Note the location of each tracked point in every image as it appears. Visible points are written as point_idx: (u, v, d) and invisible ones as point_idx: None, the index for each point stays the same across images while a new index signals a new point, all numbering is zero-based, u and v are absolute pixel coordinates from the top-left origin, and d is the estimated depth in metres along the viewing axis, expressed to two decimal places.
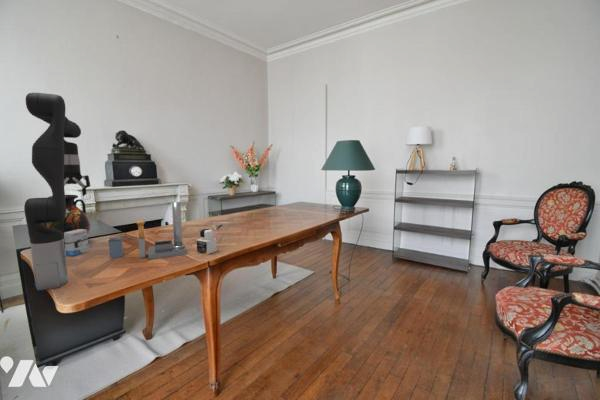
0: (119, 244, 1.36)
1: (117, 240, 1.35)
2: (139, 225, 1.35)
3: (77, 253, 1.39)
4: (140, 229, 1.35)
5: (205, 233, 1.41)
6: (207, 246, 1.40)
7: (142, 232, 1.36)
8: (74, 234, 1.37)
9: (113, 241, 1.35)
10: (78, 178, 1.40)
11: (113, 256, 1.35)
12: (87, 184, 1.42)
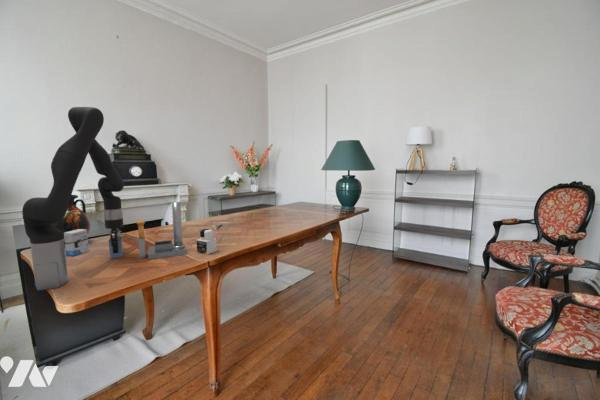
0: (119, 244, 1.36)
1: None
2: (139, 225, 1.35)
3: (77, 253, 1.39)
4: (140, 229, 1.35)
5: (205, 233, 1.41)
6: (207, 246, 1.40)
7: (142, 232, 1.36)
8: (74, 234, 1.37)
9: (113, 241, 1.35)
10: None
11: (113, 256, 1.35)
12: None
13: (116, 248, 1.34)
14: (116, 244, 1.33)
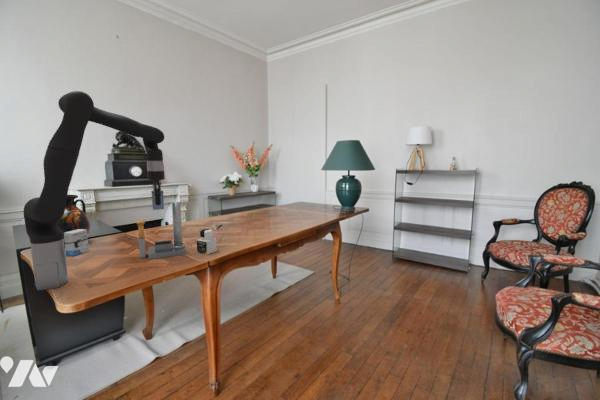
0: (161, 196, 1.37)
1: None
2: (139, 225, 1.35)
3: (77, 253, 1.39)
4: (140, 229, 1.35)
5: (205, 233, 1.41)
6: (207, 246, 1.40)
7: (142, 232, 1.36)
8: (74, 234, 1.37)
9: (156, 193, 1.36)
10: None
11: (155, 208, 1.37)
12: None
13: (159, 200, 1.36)
14: (159, 195, 1.34)
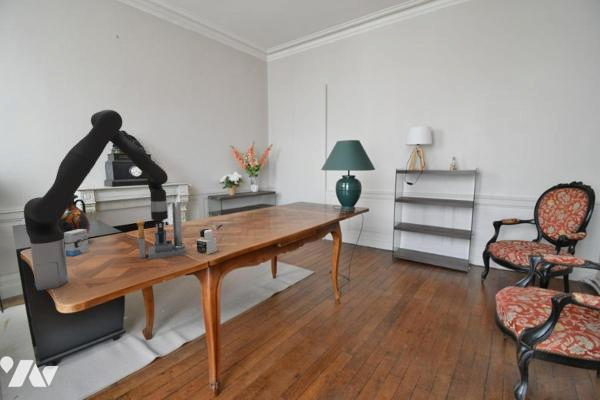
0: (164, 237, 1.40)
1: None
2: (139, 225, 1.35)
3: (77, 253, 1.39)
4: (140, 229, 1.35)
5: (205, 233, 1.41)
6: (207, 246, 1.40)
7: (142, 232, 1.36)
8: (74, 234, 1.37)
9: None
10: None
11: None
12: None
13: (162, 238, 1.37)
14: (162, 234, 1.35)
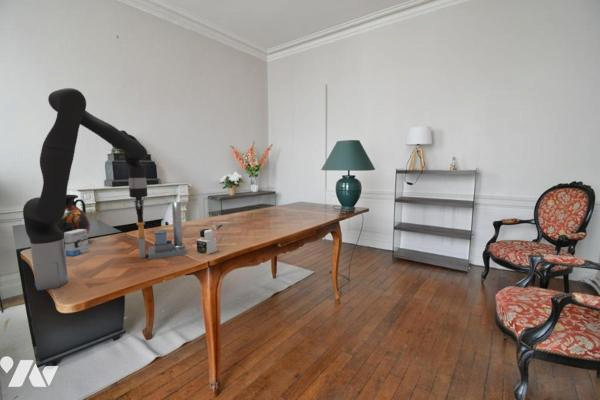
0: (164, 237, 1.40)
1: (163, 233, 1.39)
2: (139, 226, 1.35)
3: (77, 253, 1.39)
4: (140, 230, 1.35)
5: (205, 233, 1.41)
6: (207, 246, 1.40)
7: (142, 233, 1.36)
8: (74, 234, 1.37)
9: (159, 234, 1.38)
10: None
11: None
12: None
13: (141, 217, 1.35)
14: (141, 213, 1.33)
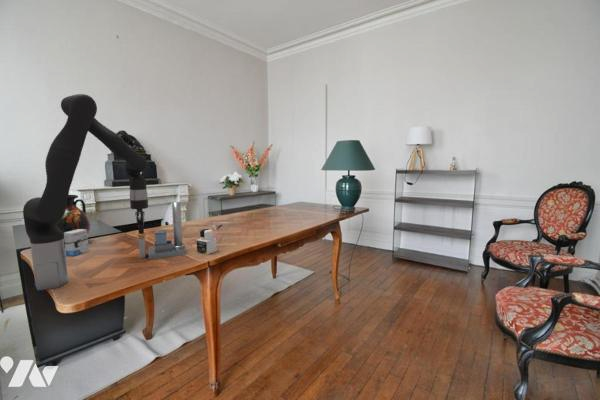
0: (164, 237, 1.40)
1: (163, 233, 1.39)
2: (140, 237, 1.36)
3: (77, 253, 1.39)
4: None
5: (205, 233, 1.41)
6: (207, 246, 1.40)
7: None
8: (74, 234, 1.37)
9: (159, 234, 1.38)
10: None
11: None
12: None
13: (142, 229, 1.35)
14: (142, 224, 1.34)
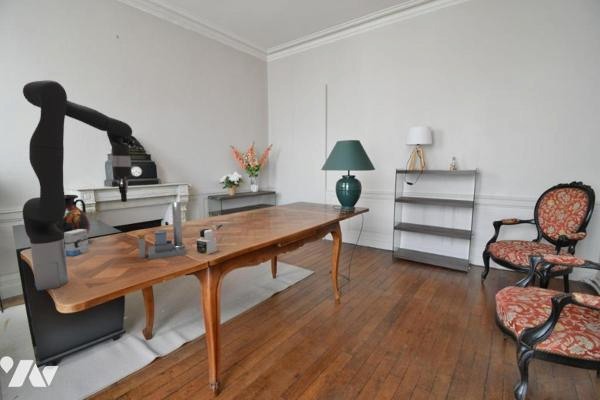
0: (164, 237, 1.40)
1: (163, 233, 1.39)
2: (140, 237, 1.36)
3: (77, 253, 1.39)
4: None
5: (205, 233, 1.41)
6: (207, 246, 1.40)
7: None
8: (74, 234, 1.37)
9: (159, 234, 1.38)
10: None
11: None
12: (126, 189, 1.37)
13: (124, 196, 1.33)
14: (124, 192, 1.31)
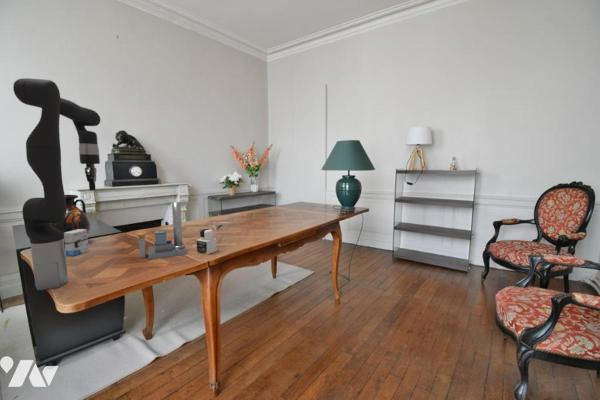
0: (164, 237, 1.40)
1: (163, 233, 1.39)
2: (140, 237, 1.36)
3: (77, 253, 1.39)
4: None
5: (205, 233, 1.41)
6: (207, 246, 1.40)
7: None
8: (74, 234, 1.37)
9: (159, 234, 1.38)
10: None
11: None
12: (95, 177, 1.36)
13: (92, 185, 1.32)
14: (92, 180, 1.31)
